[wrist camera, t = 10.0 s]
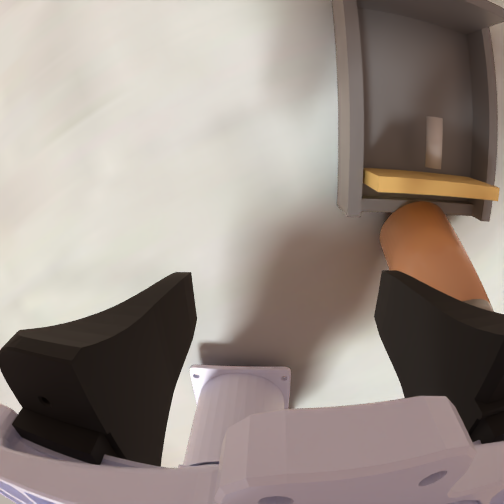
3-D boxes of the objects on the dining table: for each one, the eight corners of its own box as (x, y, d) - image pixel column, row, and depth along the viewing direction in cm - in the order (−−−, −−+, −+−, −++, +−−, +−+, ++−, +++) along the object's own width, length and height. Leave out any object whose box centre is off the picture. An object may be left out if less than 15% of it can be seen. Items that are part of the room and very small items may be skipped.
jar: (432, 256, 20) (470, 358, 14) (372, 258, 21) (400, 371, 15) (454, 202, 17) (513, 310, 11) (388, 200, 17) (437, 322, 11)
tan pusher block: (467, 188, 17) (497, 200, 14) (358, 180, 18) (378, 192, 15) (471, 127, 16) (502, 130, 12) (359, 110, 16) (380, 106, 13)
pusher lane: (468, 210, 19) (515, 236, 14) (336, 205, 20) (361, 233, 14) (467, 30, 14) (514, 14, 8) (331, -1, 14) (352, -41, 9)
